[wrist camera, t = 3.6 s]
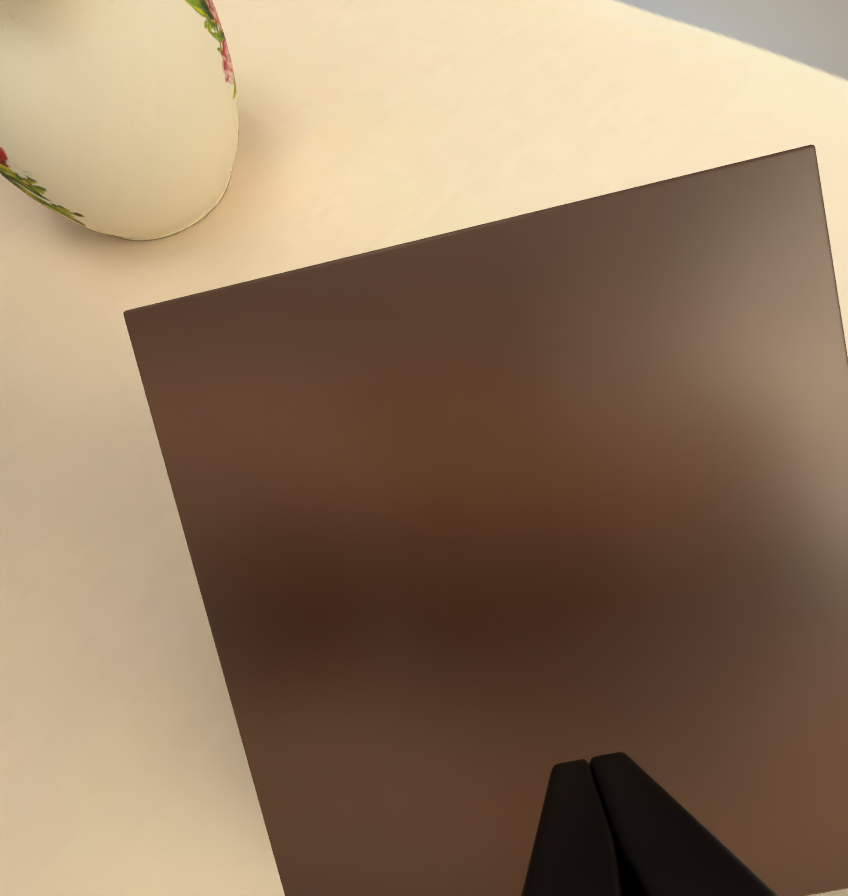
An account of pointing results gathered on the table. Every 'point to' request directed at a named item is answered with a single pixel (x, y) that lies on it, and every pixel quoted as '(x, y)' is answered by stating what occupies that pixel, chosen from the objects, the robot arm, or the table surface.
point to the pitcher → (118, 111)
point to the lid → (528, 528)
